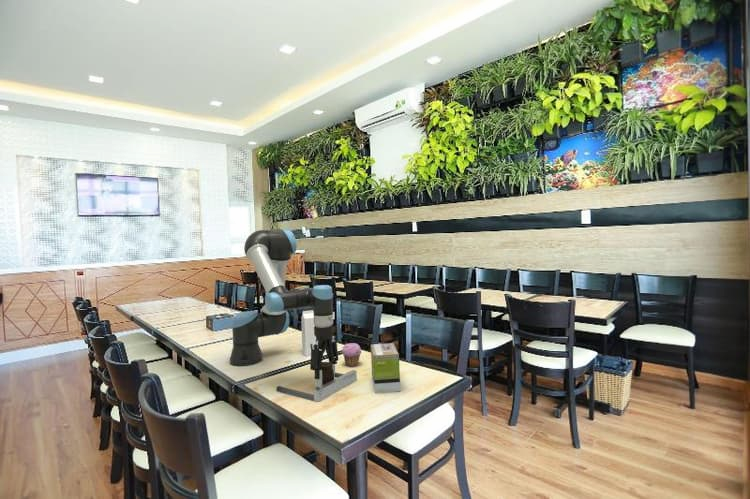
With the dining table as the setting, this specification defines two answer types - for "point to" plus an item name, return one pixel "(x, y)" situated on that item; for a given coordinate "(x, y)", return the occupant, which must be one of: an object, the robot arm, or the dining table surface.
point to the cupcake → (351, 353)
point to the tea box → (385, 368)
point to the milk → (307, 332)
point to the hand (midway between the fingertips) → (325, 383)
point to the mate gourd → (327, 372)
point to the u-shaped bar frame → (324, 387)
